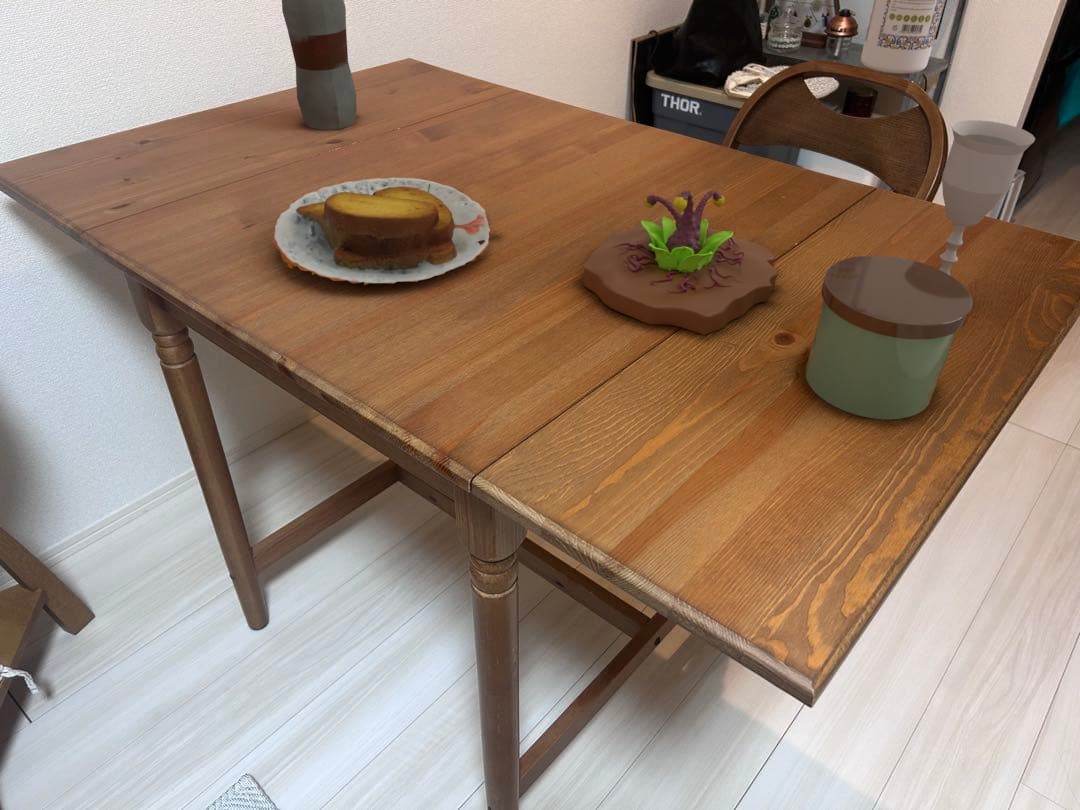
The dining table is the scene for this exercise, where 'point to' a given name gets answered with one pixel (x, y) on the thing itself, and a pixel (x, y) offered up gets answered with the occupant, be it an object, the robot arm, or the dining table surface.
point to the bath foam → (901, 35)
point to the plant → (680, 269)
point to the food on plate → (382, 230)
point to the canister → (884, 335)
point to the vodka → (321, 62)
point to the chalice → (978, 174)
